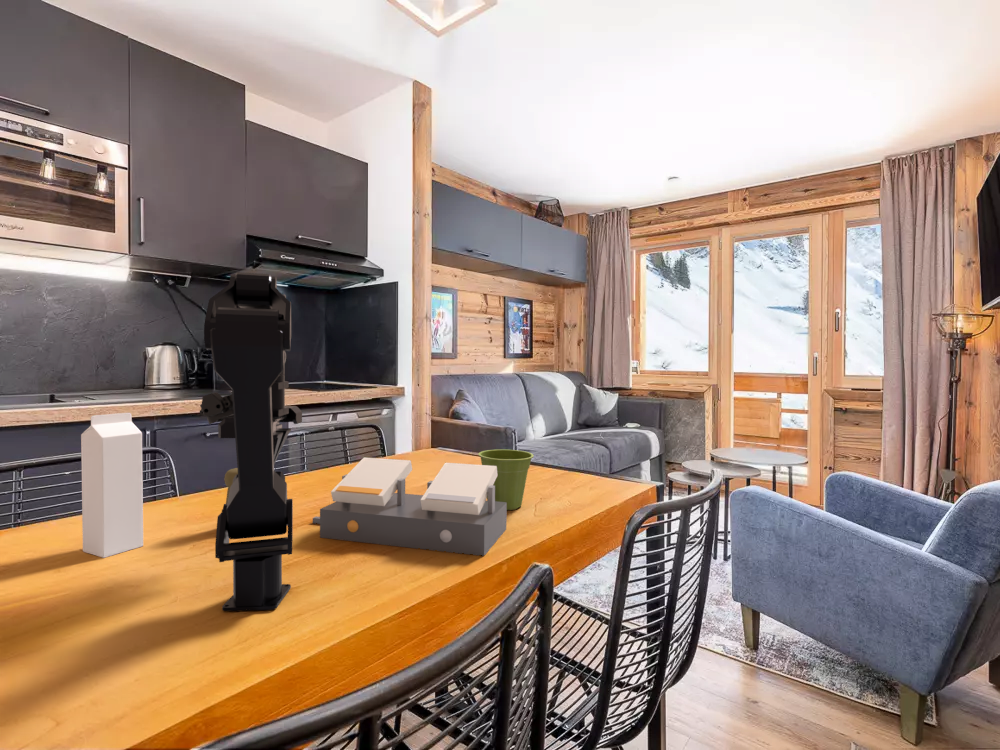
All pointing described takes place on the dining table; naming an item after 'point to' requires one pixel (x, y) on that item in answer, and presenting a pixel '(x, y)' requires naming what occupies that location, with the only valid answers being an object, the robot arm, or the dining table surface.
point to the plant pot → (508, 474)
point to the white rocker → (459, 488)
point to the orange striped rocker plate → (371, 481)
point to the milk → (112, 485)
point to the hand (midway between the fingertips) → (265, 476)
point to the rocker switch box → (415, 524)
